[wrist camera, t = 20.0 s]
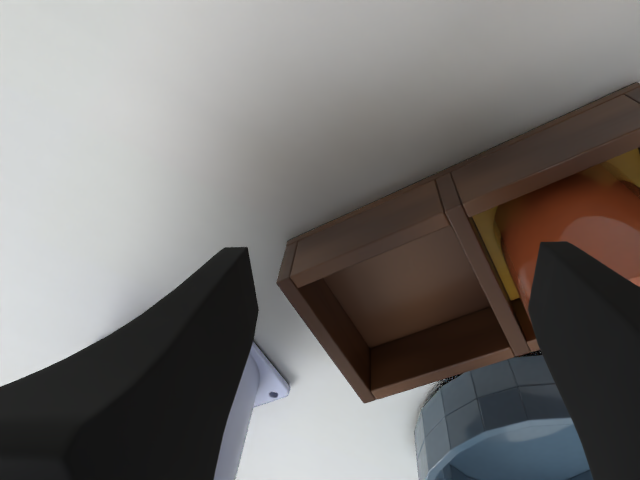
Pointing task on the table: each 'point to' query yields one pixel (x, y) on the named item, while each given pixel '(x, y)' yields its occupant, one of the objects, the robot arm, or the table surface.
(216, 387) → the robot arm
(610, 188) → the cup
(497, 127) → the table surface
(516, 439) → the bowl
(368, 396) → the box
